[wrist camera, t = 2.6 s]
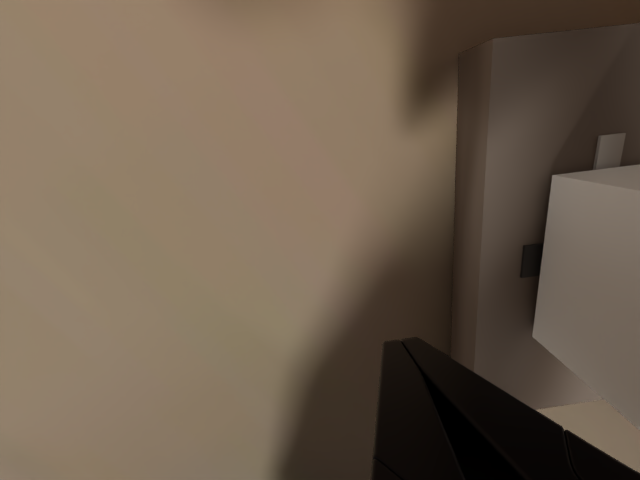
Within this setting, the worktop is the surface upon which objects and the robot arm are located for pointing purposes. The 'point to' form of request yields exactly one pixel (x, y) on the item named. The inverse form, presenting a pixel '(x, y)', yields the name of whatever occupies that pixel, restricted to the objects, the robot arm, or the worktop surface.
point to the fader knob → (594, 282)
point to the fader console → (530, 187)
